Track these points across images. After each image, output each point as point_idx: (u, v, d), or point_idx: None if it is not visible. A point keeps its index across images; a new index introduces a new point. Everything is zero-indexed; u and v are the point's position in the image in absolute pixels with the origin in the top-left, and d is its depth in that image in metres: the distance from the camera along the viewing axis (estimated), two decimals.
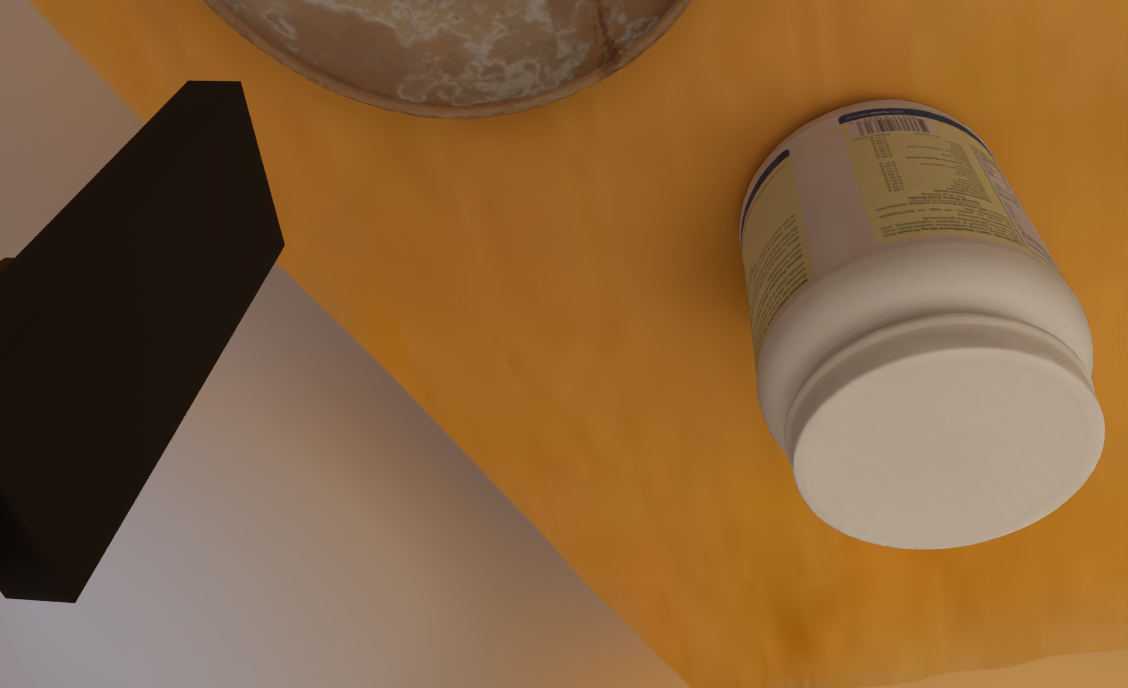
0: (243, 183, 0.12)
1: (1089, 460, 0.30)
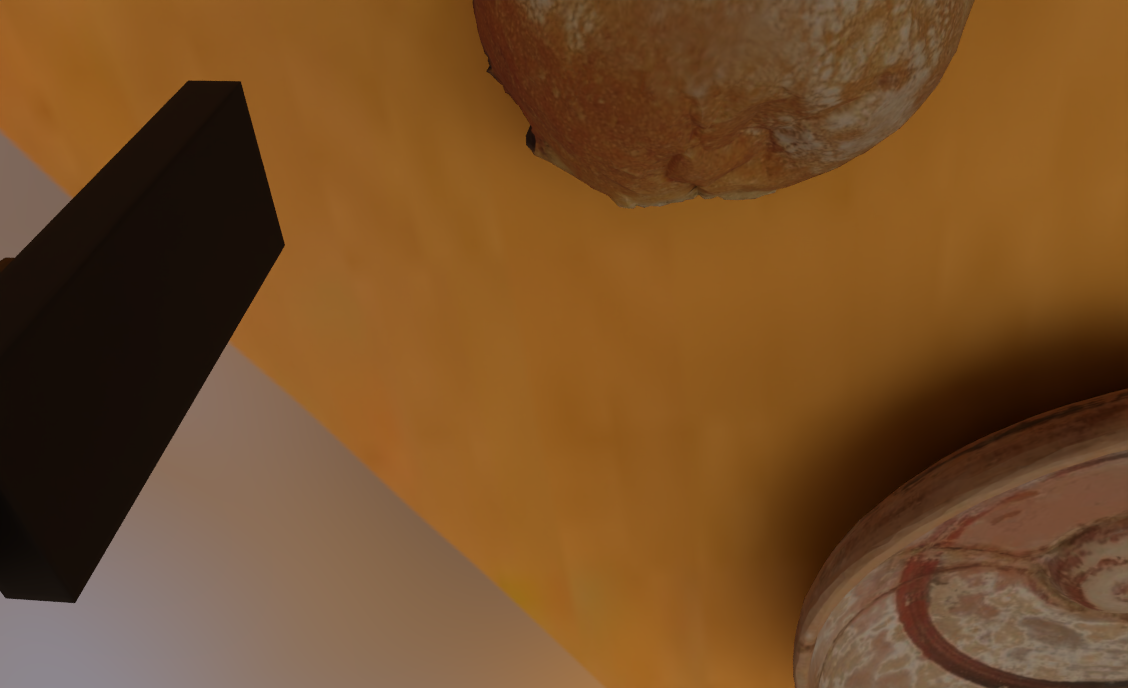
0: (243, 183, 0.12)
1: None
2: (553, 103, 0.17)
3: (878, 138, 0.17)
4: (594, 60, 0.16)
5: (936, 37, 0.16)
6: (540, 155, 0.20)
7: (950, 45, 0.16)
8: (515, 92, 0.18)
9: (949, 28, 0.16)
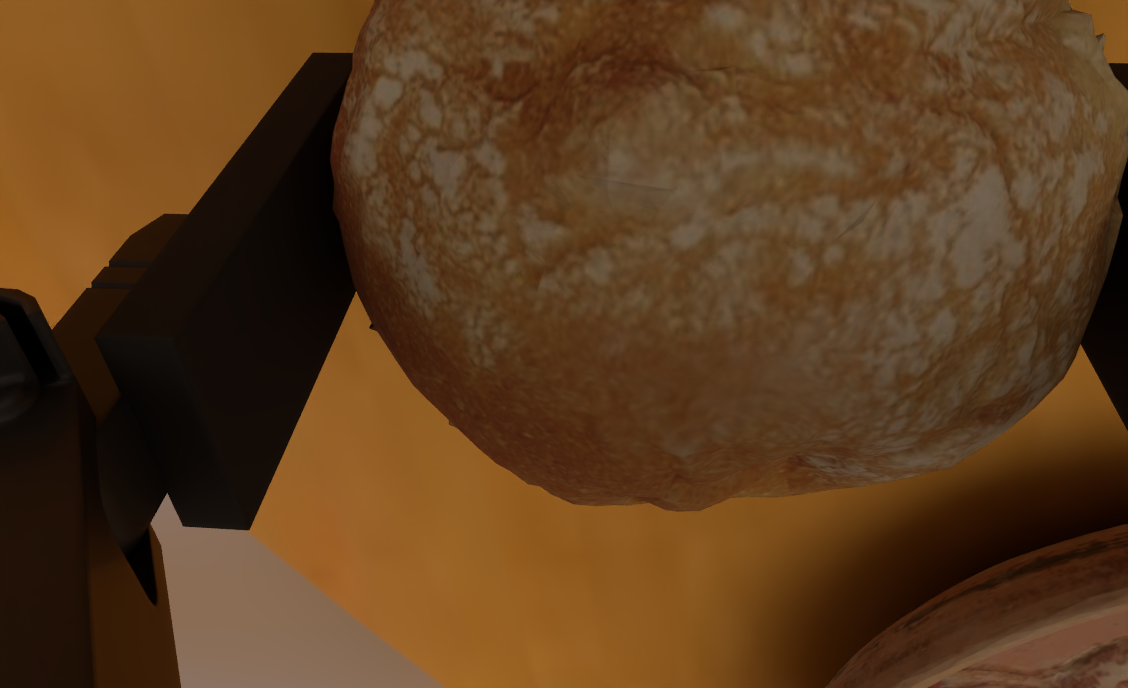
0: None
1: None
2: (458, 414, 0.11)
3: None
4: (512, 387, 0.10)
5: (1067, 340, 0.10)
6: (457, 427, 0.14)
7: (1082, 335, 0.10)
8: None
9: (1086, 320, 0.10)
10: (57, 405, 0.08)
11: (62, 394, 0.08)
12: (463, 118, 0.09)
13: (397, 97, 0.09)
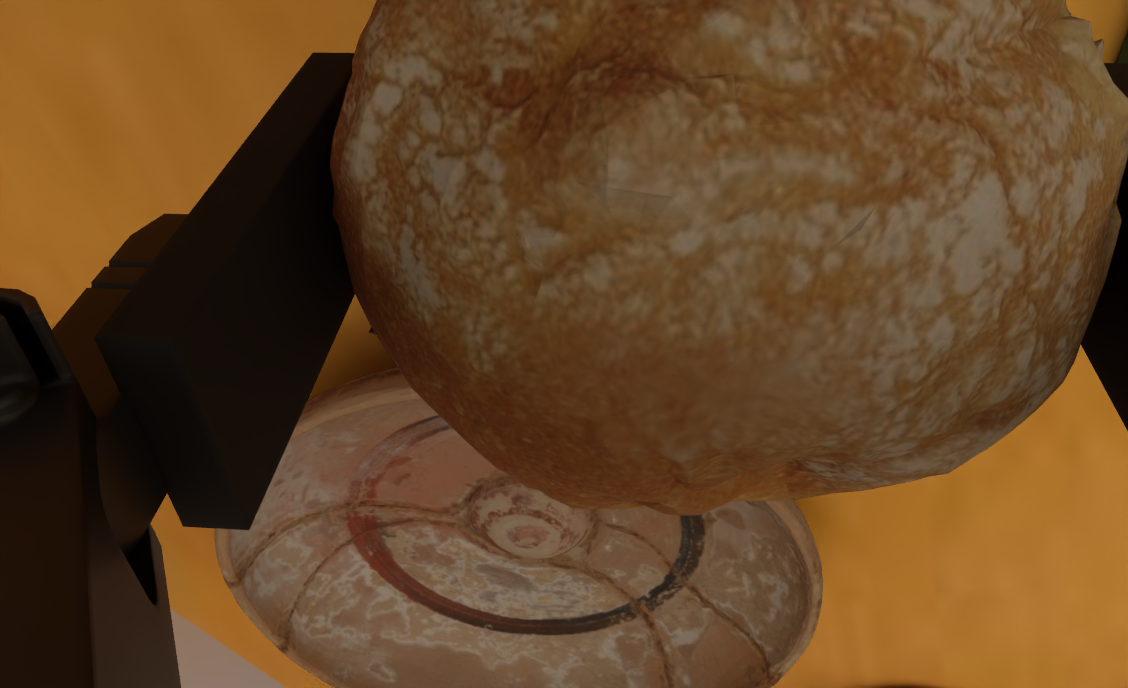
0: None
1: None
2: (457, 418, 0.11)
3: None
4: (511, 392, 0.10)
5: (1066, 346, 0.10)
6: None
7: (1081, 340, 0.10)
8: (406, 379, 0.12)
9: (1083, 326, 0.10)
10: (57, 405, 0.08)
11: (62, 394, 0.08)
12: (462, 125, 0.09)
13: (396, 103, 0.09)
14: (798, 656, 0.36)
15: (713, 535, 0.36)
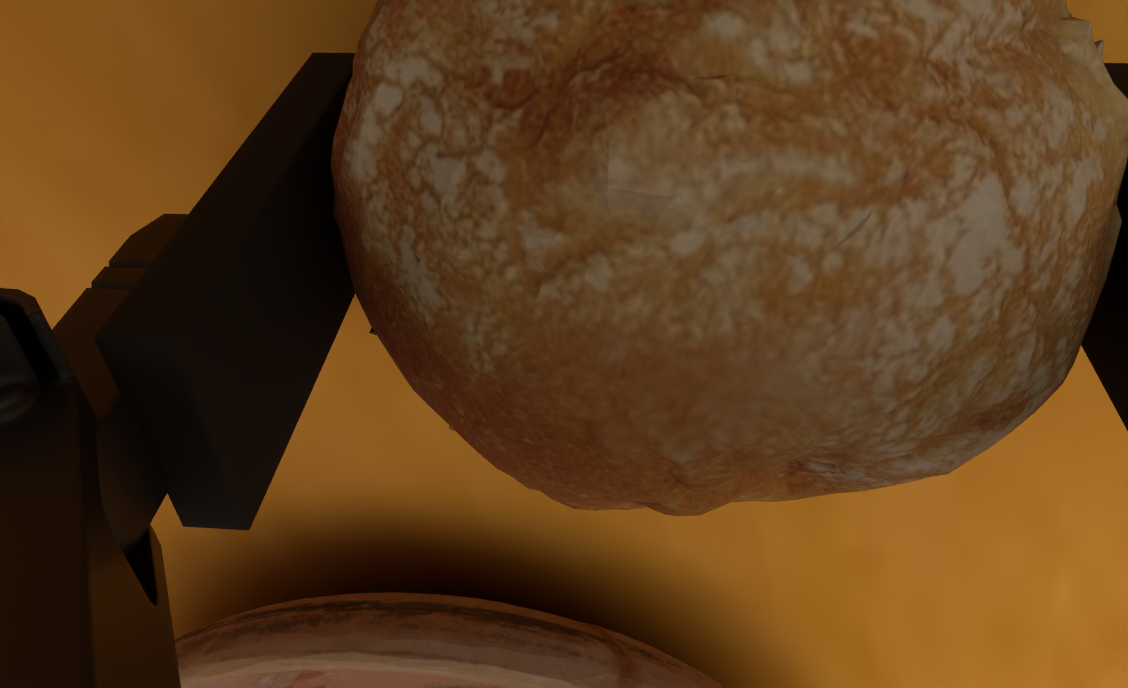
0: None
1: None
2: (457, 418, 0.11)
3: None
4: (512, 393, 0.10)
5: (1066, 347, 0.10)
6: None
7: (1081, 341, 0.10)
8: None
9: (1085, 327, 0.10)
10: (57, 405, 0.08)
11: (62, 394, 0.08)
12: (462, 124, 0.09)
13: (397, 103, 0.09)
14: None
15: None
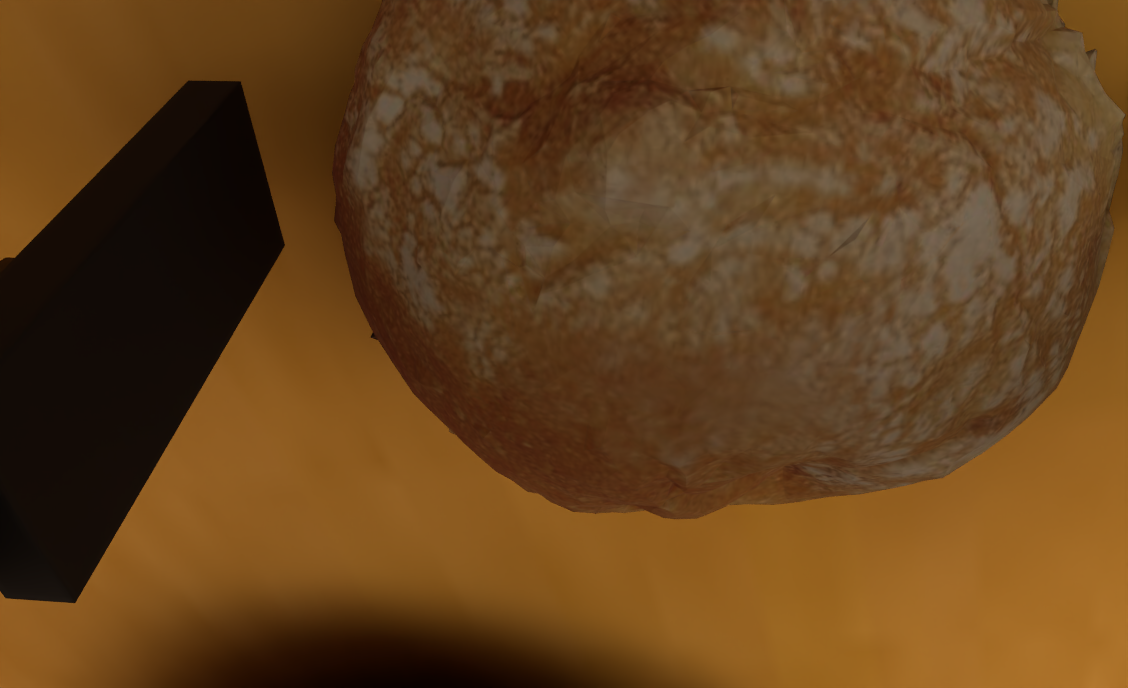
0: (243, 183, 0.12)
1: None
2: (458, 423, 0.11)
3: None
4: (511, 397, 0.10)
5: (1060, 353, 0.10)
6: None
7: (1074, 346, 0.11)
8: (407, 384, 0.12)
9: (1077, 333, 0.10)
10: None
11: None
12: (464, 136, 0.09)
13: (397, 113, 0.09)
14: None
15: None
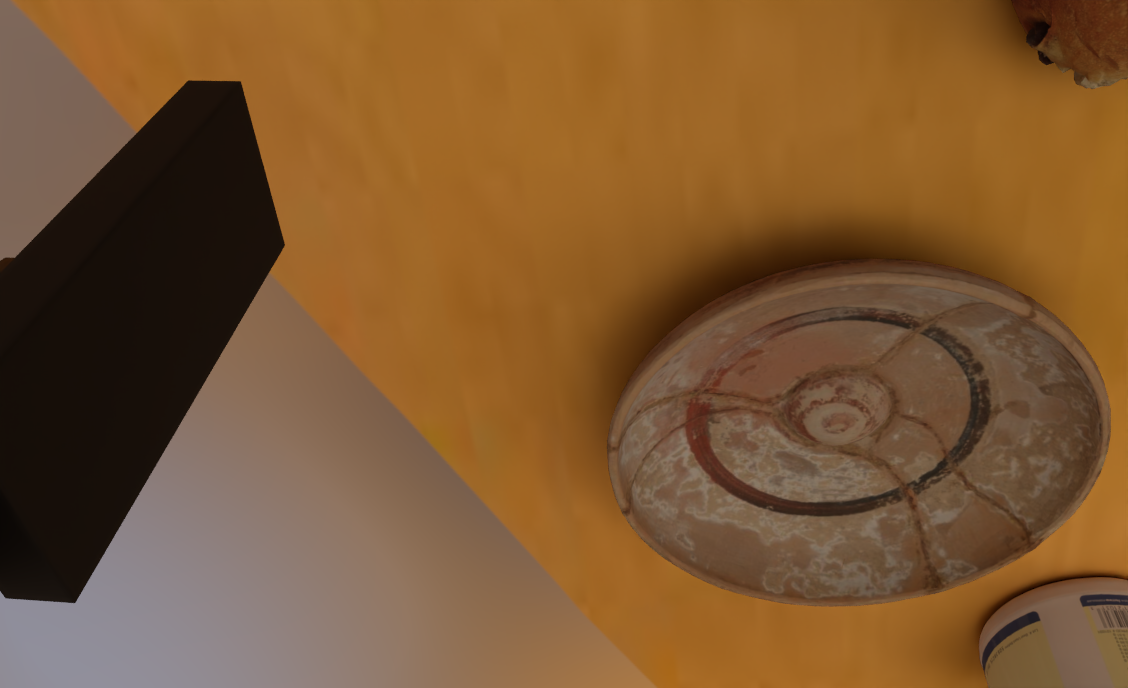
0: (243, 183, 0.12)
1: None
2: (1102, 5, 0.28)
3: None
4: None
5: None
6: (1041, 47, 0.31)
7: None
8: (1062, 0, 0.29)
9: None
10: None
11: None
12: None
13: None
14: (1062, 523, 0.45)
15: (994, 425, 0.45)
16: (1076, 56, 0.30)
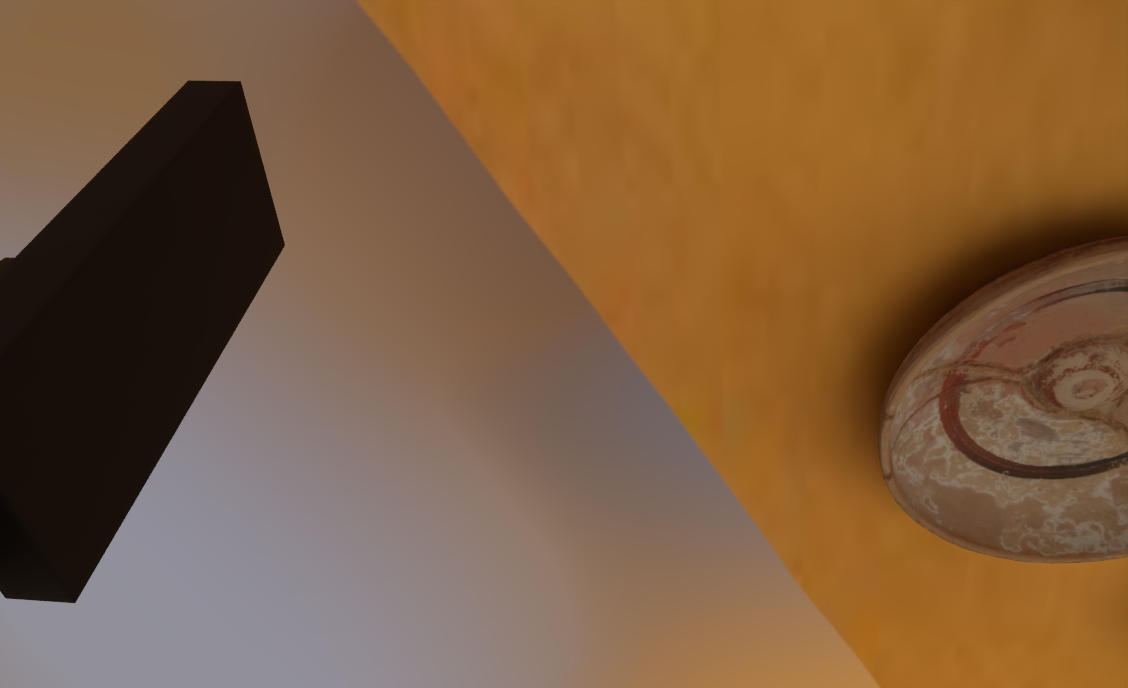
0: (243, 183, 0.12)
1: None
2: None
3: None
4: None
5: None
6: None
7: None
8: None
9: None
10: None
11: None
12: None
13: None
14: None
15: None
16: None
